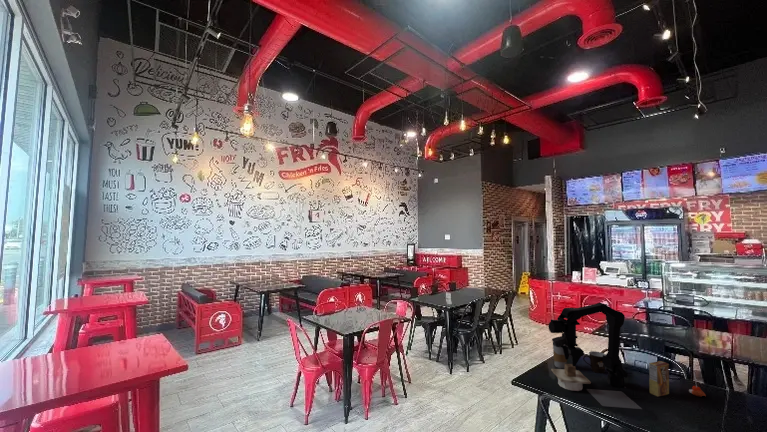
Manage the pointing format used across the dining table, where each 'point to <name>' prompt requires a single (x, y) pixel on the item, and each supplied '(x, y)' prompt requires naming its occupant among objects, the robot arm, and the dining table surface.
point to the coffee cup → (559, 357)
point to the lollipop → (696, 389)
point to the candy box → (659, 378)
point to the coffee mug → (596, 361)
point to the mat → (613, 398)
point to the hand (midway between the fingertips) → (570, 362)
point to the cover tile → (571, 379)
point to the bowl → (571, 385)
